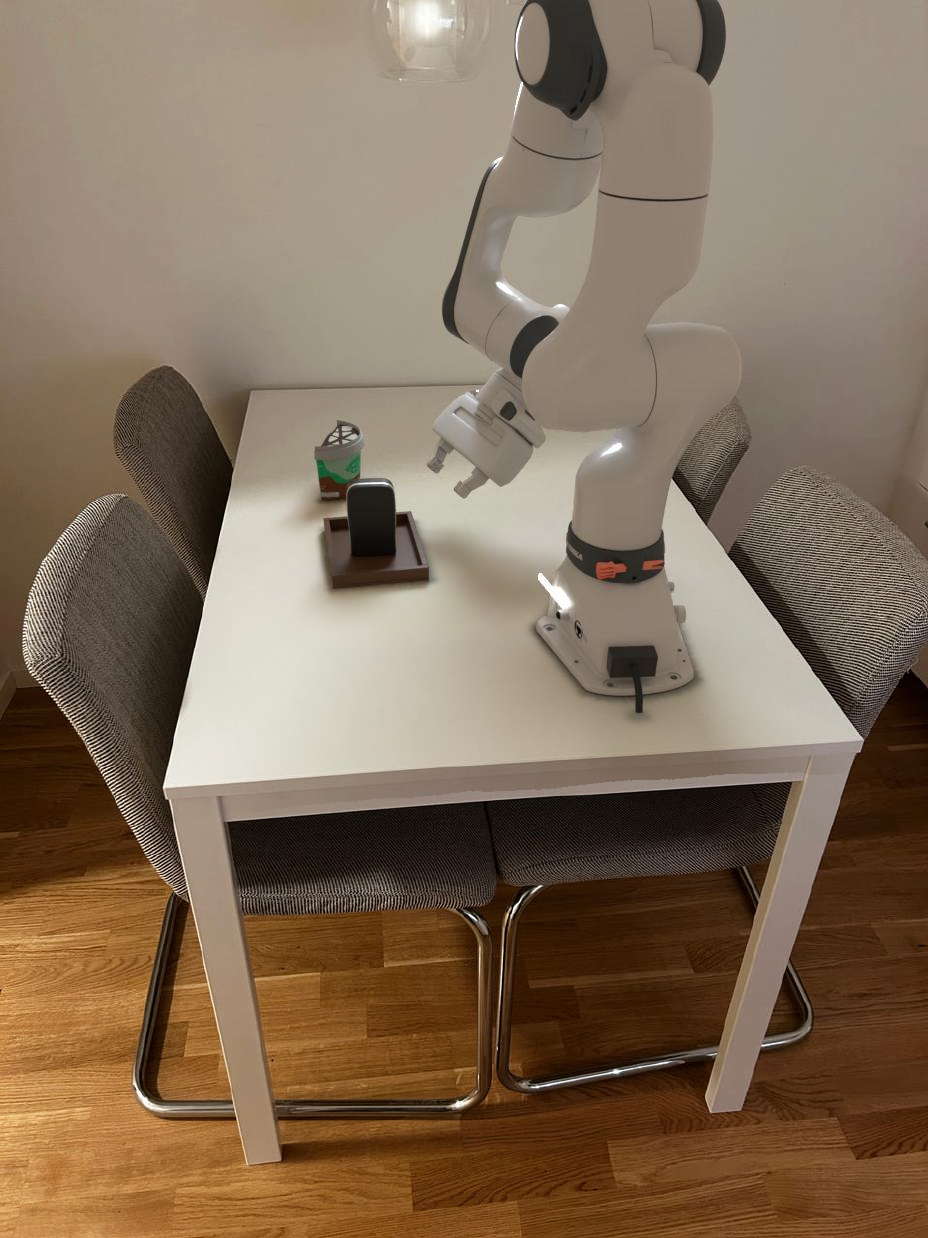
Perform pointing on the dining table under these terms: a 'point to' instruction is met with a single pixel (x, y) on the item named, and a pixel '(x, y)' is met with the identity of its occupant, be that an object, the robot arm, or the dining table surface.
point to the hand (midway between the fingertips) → (444, 481)
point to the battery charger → (371, 517)
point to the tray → (380, 568)
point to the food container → (339, 460)
